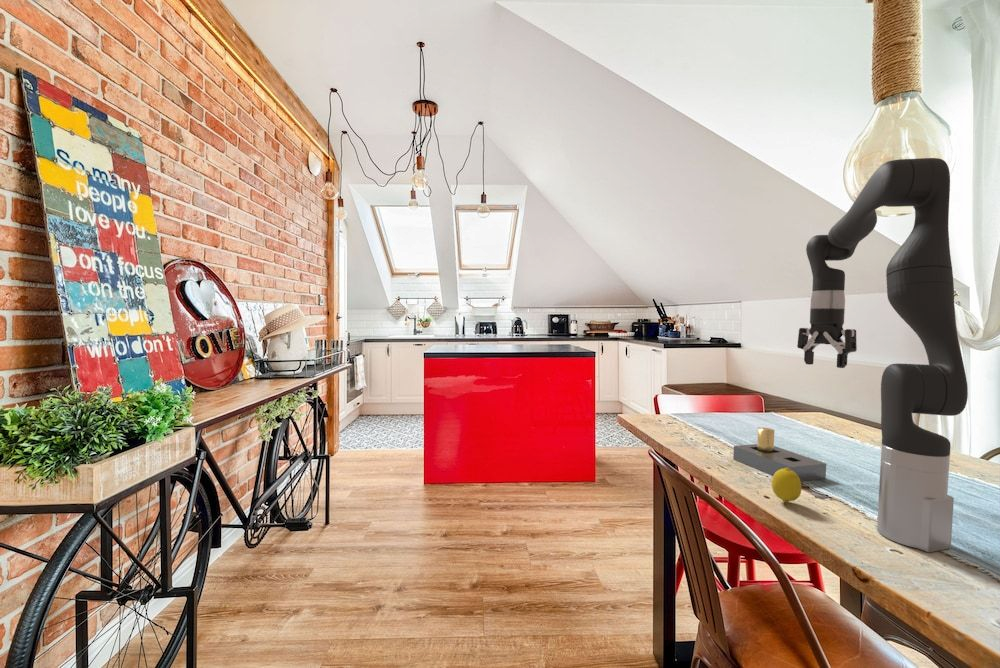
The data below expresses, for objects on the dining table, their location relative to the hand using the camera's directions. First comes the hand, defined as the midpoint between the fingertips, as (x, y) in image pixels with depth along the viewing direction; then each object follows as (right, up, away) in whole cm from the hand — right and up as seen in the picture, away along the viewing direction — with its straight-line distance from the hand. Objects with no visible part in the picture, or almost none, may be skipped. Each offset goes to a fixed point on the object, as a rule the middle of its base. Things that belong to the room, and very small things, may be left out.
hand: (824, 365), depth 117 cm
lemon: (-26, -29, -22) cm, 45 cm away
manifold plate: (-13, -29, 0) cm, 31 cm away
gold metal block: (-14, -28, +4) cm, 32 cm away
